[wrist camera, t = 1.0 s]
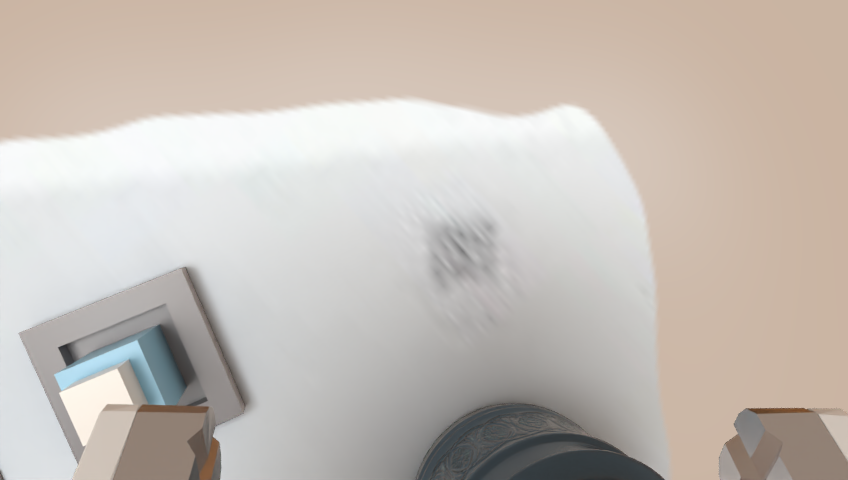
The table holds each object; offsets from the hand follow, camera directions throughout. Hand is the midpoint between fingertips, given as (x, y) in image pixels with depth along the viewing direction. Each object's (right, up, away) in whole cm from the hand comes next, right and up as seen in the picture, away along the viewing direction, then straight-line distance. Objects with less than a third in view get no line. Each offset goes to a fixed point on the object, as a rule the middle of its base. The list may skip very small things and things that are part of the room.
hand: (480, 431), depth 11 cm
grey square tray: (-17, -5, +31) cm, 36 cm away
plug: (-17, -5, +30) cm, 35 cm away
